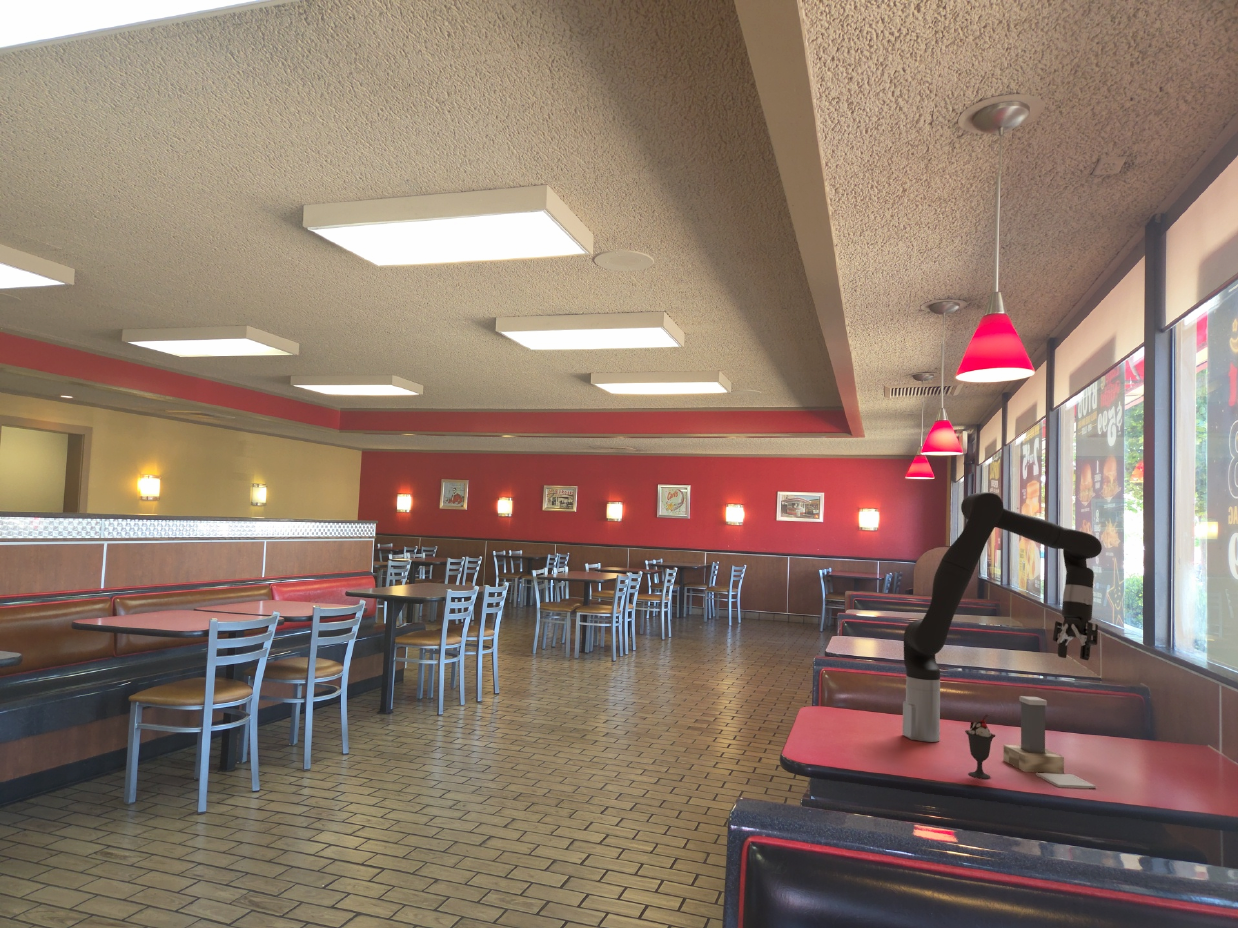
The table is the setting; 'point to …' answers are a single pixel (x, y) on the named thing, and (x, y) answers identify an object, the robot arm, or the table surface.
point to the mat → (1065, 780)
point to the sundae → (979, 745)
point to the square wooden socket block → (1033, 760)
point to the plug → (1033, 724)
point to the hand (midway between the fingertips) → (1073, 658)
